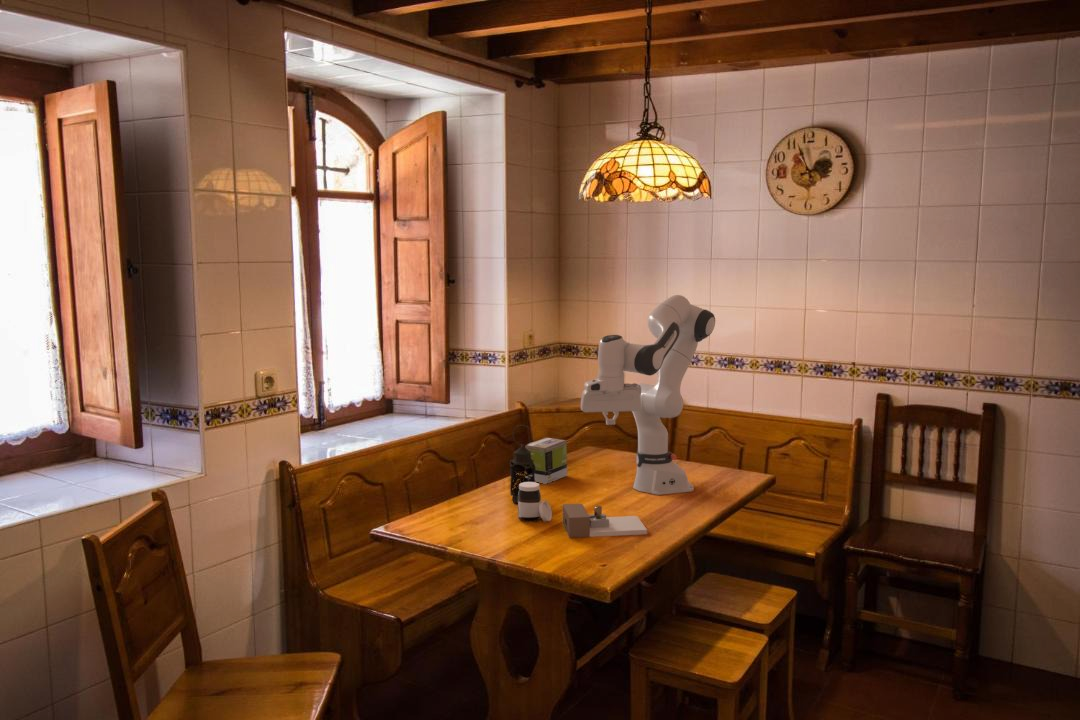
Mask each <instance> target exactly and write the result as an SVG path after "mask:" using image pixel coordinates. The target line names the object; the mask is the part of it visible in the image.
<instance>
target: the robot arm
mask: <svg viewBox="0 0 1080 720" xmlns="http://www.w3.org/2000/svg"><path fill="white" fill-rule="evenodd" d="M715 326H716V318H715V315H714V313H713V312H711V311H710V310H707V309H706V308H705V309H704V308H702V307H699V306H697V305H693V304H691V302H690V301H689V300H688V298H686V297H685V296H683V295H681V294H675V295H672V296H670V297H668V298H667V299H665V300H663V301H662V302H661V303H660V304H659V305H657V306H656V307H655V308H654V309H653V310H652V311H651V313H650V314H649V316H648V318H647V327H648V329H649V331H650V333H651V335H652V336H653V337H655V338H656V340H655V341H654V343H651V344H639V343H637V344H636V343H630V342H628V341H626V340H624V337H623V336H622V335H619V334H607V335H605V336H603V337H601V338H600V340H599V344H598V351H597V364H598V372H597V378H593V379H590V380H587V381H585V382H584V385H583V386H584V390H583V391H582V393H581V397H580V410H581V411H582V412H583V413H602V415H603V416H604V419H605V424H606V425H607V426H615V425H616V420H617V418H618V417H619V415H620V413H619V412H631V413H632V414H633V417H634V421H635V425H636V428H637V450H636V461H635V462H636V474H635V478H634V482H633V486H632V488H633V489H635V490H636V491H638V492H642V493H648V494H652V495H656V496H660V495H671V494H681V493H690V492H694V491H695V489H694V484H692V483H691V482H690V481H689V480H688V475H687V472H686V470H684V469H683V468H682V467H681V466H680V465H678V464H677V463H676V462H674V461H675V460H676V459H677V455H676V454H675V453H673V452H671V451H669V450H668V448H669V447H668V445H669V432H668V429H667V428H666V427H665V425H664V424H663V422H662V420H661V418H662V419H667V418H668V419H672V418H676V417H678V416H679V415H680V414H681V413H682V410H683V408H684V398H683V396H682V394H681V386H682V381H683V380H684V377H685V375H686V373H687V371H688V369H689V366H690V364H691V363H692V361H693V359H694V356H695V354H696V351H697V347H698V346H699V345H698V344H699V343H700V342H702V341H703V340H705V339H707V338H708V337H709V336H710V335H711V334H712V333H713V331H714V329H715ZM625 372H628V373H629V372H630V373H633V374H634V373H635V374H640V375H643V376H644V375H645V376H648V377H649V376H653V375H655V374H656V375H657V376H658V377H657V380H656V382H655V384H648V383H625ZM609 412H610V413H613V414H614V415H613V417H612V418H608V415H609Z"/></svg>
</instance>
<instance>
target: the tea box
mask: <svg viewBox="0 0 1080 720" xmlns="http://www.w3.org/2000/svg"><path fill="white" fill-rule="evenodd" d="M527 444H528V443H527ZM524 445H525V446H524V447H525V448H526V449H527V450H529V451H531V459H532V460H534V461H533V463H534V464H535V468H536V470H535V482H539V483H538V484H540V483H543V484H542V485H548V484H550V483H553V482H555V481H557V480H560V479H561V478H565V477H567V476H568V454H567V451H568V449H567V445H568V444H567V440H565V439H558V438H550V437H543V438H542V439H539V440H535V441H533V442H532V441H531V442H530V443H529V444H528V445H526V444H524ZM526 466H527V465H526ZM525 470H527V469H525ZM532 472H533V471H532ZM525 474H527V471H526V472H525ZM529 476H531V477H532V475H529ZM525 478H528V476H525ZM529 479H530V478H529ZM529 479H528V480H529ZM552 481H553V482H552ZM547 483H548V484H547Z"/></svg>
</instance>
